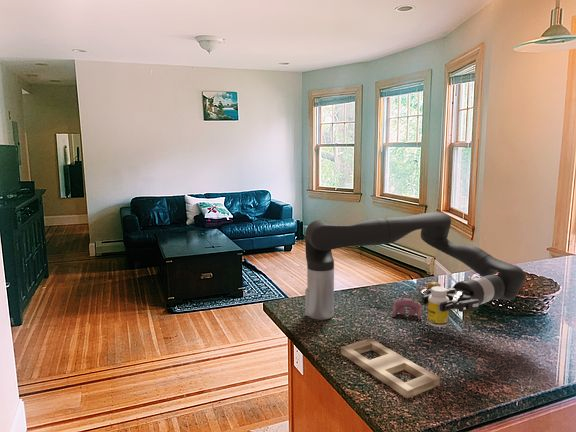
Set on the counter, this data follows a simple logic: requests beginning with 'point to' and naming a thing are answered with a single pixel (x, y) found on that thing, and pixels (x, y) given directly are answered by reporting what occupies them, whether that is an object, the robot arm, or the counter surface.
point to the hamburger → (430, 286)
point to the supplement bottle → (437, 307)
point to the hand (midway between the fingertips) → (432, 304)
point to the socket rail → (390, 367)
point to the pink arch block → (406, 302)
